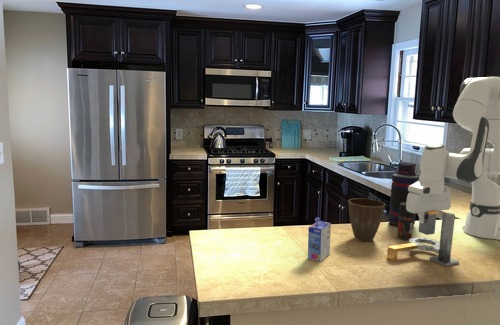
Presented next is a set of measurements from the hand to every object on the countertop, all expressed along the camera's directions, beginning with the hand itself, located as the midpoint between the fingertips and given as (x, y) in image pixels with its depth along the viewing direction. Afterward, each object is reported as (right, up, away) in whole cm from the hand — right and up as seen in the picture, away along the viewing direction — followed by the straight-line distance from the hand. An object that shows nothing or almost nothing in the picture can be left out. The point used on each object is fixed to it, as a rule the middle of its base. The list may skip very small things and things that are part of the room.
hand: (427, 222), depth 158 cm
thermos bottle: (+5, -7, +41) cm, 42 cm away
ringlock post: (-4, -13, -4) cm, 14 cm away
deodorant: (-1, -10, +20) cm, 22 cm away
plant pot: (-20, -10, +17) cm, 28 cm away
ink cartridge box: (-43, -12, -5) cm, 44 cm away
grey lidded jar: (0, -4, +1) cm, 4 cm away
